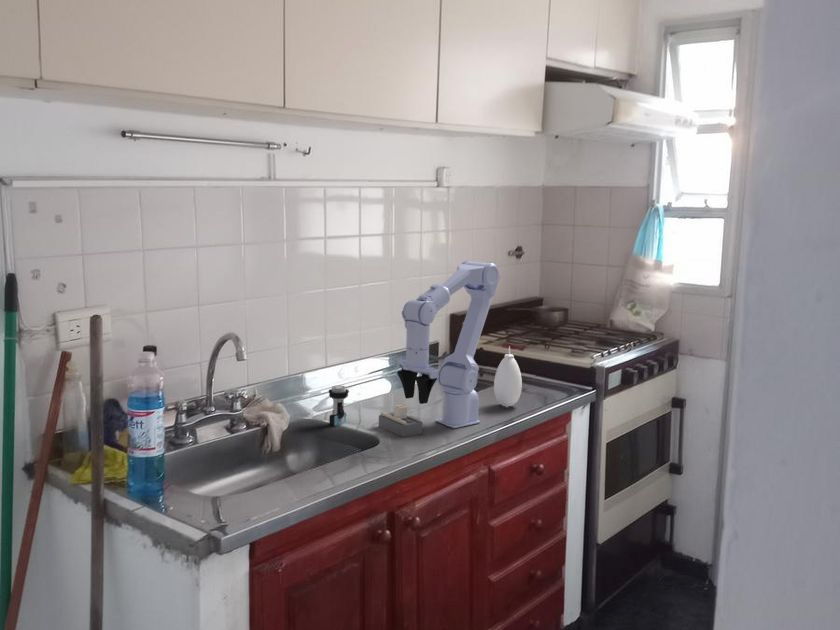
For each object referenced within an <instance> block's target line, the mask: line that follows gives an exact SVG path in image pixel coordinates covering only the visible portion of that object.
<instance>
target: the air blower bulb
mask: <svg viewBox="0 0 840 630" xmlns="http://www.w3.org/2000/svg"><path fill="white" fill-rule="evenodd" d="M521 374H522V373H521V369H520V367H519V364H518V362H517V360H516V359H515V357H514V354H511V346H510V345H509V346H508V353H505V354H504V357H503V358H502V360H501V361H500V363H499V365H498V366H497V368H496V371H495V376H494V380H493V381H494V382H493V391H494V396H495V398H496V401H497V402H498V403H500V405H501V406H503V407H504V406H510V407H512V406H514V404H516V403H518V401H519V399H520V397H521V394H522V389H523V388H522V387H523V386H522V385H523V382H522V381H523V379H522V375H521Z"/></svg>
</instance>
